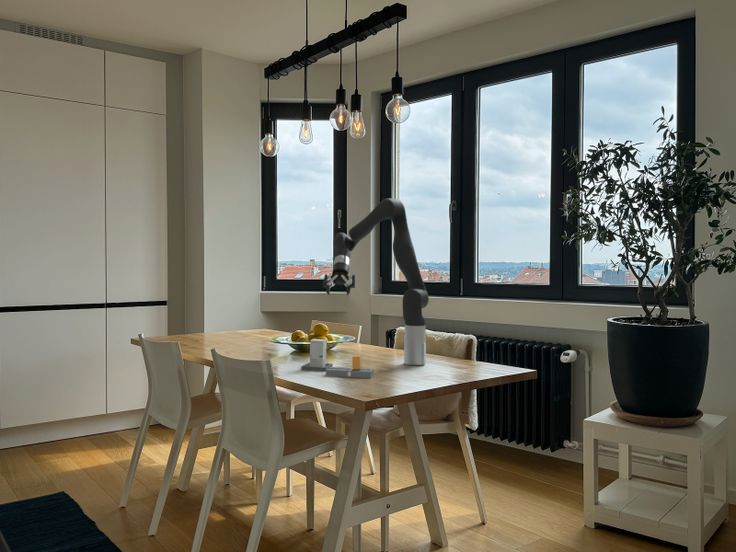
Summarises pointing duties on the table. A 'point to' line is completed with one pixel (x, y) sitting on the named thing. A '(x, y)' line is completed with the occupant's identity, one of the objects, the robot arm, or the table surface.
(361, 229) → the robot arm
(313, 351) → the skincare box
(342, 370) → the switch panel
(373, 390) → the table surface
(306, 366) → the frame
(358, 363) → the block
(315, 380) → the table surface
